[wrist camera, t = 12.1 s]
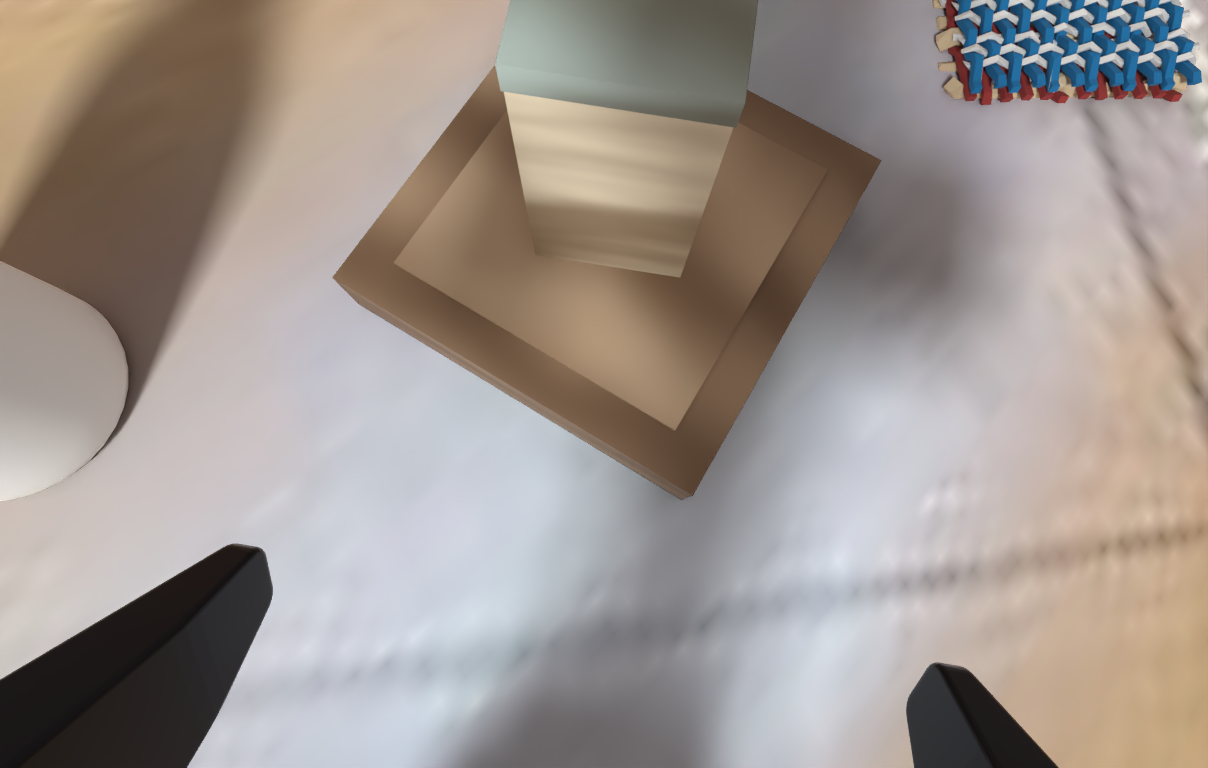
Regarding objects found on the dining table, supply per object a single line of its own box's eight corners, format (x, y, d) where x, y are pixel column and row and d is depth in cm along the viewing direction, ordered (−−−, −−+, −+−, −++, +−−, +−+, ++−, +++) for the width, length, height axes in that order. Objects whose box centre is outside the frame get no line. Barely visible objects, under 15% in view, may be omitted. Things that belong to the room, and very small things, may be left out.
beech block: (681, 279, 21) (745, 102, 13) (533, 255, 21) (495, 64, 13) (696, 172, 22) (765, -60, 14) (555, 150, 22) (533, -95, 14)
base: (681, 499, 22) (693, 495, 20) (358, 303, 24) (330, 275, 21) (853, 196, 25) (883, 158, 23) (556, 38, 27) (553, -15, 24)
